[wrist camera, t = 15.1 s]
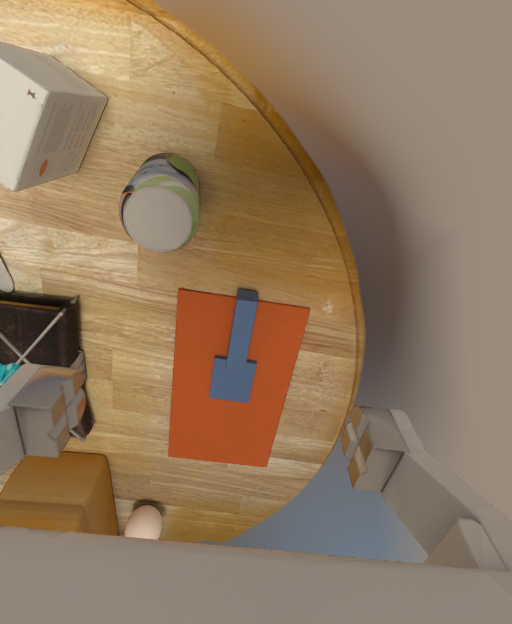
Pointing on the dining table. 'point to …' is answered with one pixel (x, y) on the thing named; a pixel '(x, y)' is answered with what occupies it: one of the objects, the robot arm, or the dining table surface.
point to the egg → (144, 523)
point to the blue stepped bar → (237, 354)
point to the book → (41, 340)
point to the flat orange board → (198, 372)
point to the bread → (61, 495)
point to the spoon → (5, 279)
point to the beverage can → (161, 203)
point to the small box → (42, 118)
